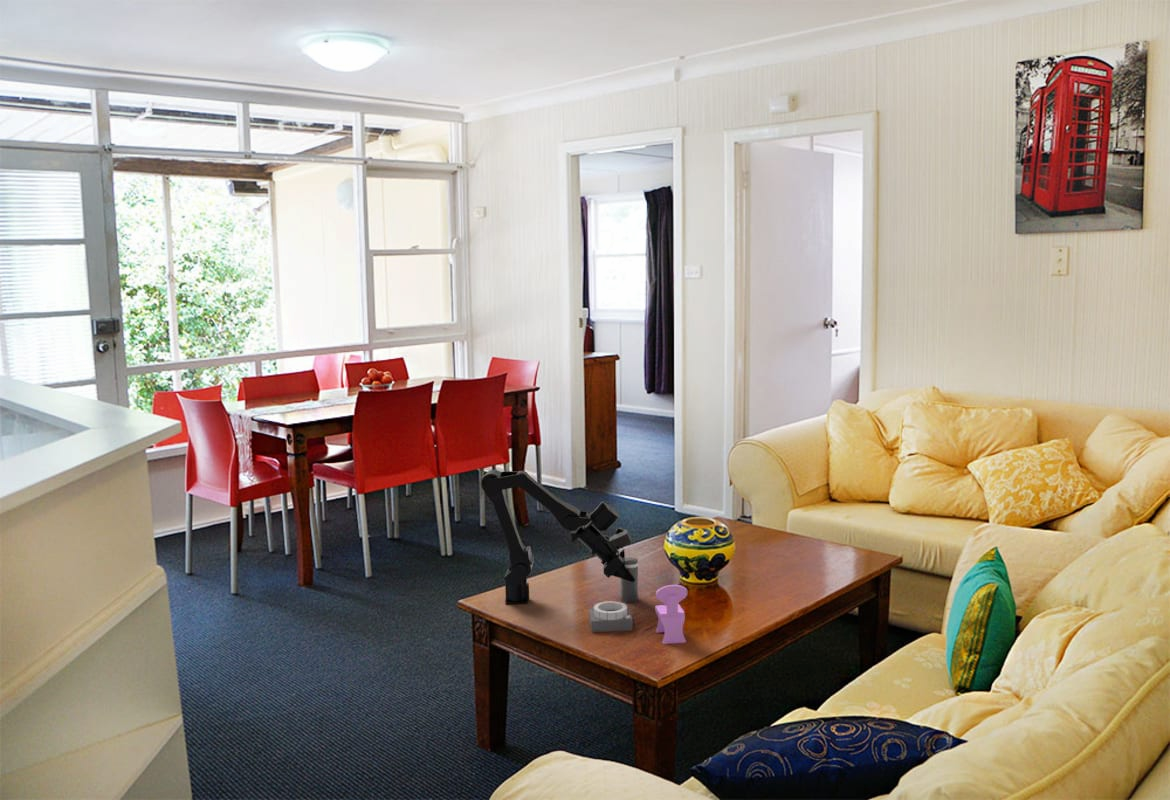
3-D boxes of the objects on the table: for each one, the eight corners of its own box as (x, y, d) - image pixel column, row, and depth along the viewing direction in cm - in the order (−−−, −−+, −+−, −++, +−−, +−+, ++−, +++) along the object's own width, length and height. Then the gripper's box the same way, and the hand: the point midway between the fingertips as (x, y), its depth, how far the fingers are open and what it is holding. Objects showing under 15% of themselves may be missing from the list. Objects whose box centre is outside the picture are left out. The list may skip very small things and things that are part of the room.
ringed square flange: (591, 632, 254) (591, 614, 253) (589, 619, 263) (589, 601, 263) (632, 630, 254) (632, 612, 254) (629, 617, 264) (628, 600, 263)
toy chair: (682, 629, 254) (681, 575, 252) (690, 642, 246) (689, 586, 244) (651, 631, 253) (650, 577, 251) (658, 644, 245) (658, 588, 243)
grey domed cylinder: (621, 603, 275) (620, 563, 274) (620, 597, 280) (619, 557, 279) (639, 602, 275) (638, 562, 274) (637, 596, 281) (637, 557, 279)
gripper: (614, 531, 266) (654, 568, 267) (615, 513, 284) (652, 549, 285) (587, 558, 267) (627, 596, 268) (589, 539, 286) (626, 575, 287)
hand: (634, 577), depth 277 cm, fingers closed on grey domed cylinder, 5 cm apart
